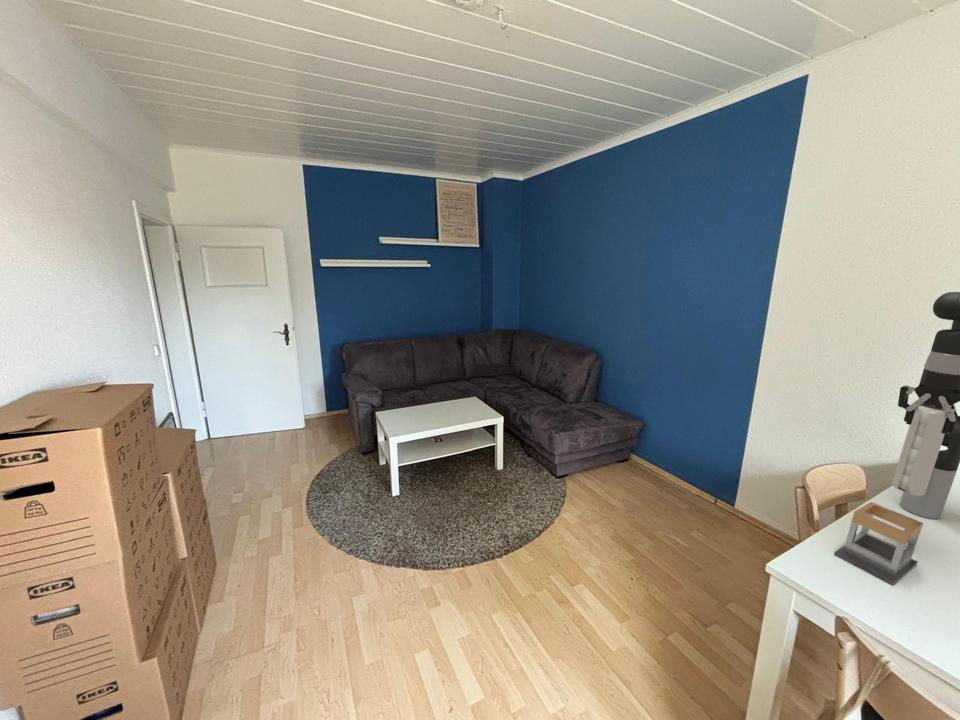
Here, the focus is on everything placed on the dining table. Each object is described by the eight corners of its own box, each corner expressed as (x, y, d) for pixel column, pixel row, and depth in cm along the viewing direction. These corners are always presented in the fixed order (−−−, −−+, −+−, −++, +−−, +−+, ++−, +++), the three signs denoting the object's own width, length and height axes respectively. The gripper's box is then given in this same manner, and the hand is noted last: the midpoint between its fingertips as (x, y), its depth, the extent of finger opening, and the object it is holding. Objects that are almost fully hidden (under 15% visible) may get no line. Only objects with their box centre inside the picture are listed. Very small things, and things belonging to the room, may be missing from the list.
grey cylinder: (931, 497, 106) (960, 412, 100) (903, 494, 107) (930, 410, 101) (911, 484, 112) (937, 403, 106) (885, 481, 114) (909, 401, 107)
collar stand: (859, 537, 116) (871, 497, 112) (916, 564, 105) (931, 521, 102) (834, 554, 109) (845, 512, 105) (892, 585, 98) (908, 540, 95)
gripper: (993, 375, 97) (972, 436, 101) (912, 362, 109) (896, 417, 113) (984, 378, 93) (962, 441, 97) (901, 364, 106) (885, 421, 110)
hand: (927, 428), depth 105 cm, fingers closed on grey cylinder, 6 cm apart
